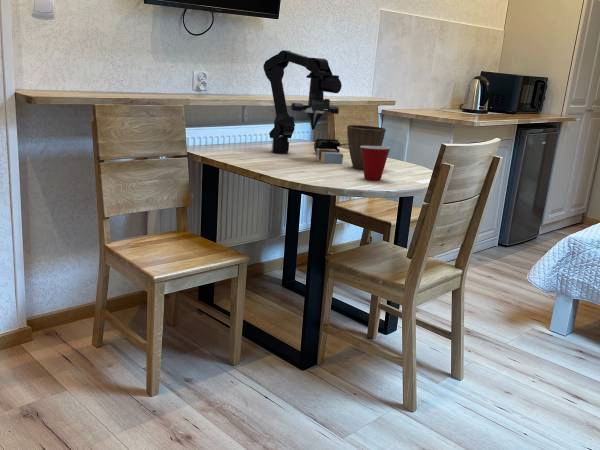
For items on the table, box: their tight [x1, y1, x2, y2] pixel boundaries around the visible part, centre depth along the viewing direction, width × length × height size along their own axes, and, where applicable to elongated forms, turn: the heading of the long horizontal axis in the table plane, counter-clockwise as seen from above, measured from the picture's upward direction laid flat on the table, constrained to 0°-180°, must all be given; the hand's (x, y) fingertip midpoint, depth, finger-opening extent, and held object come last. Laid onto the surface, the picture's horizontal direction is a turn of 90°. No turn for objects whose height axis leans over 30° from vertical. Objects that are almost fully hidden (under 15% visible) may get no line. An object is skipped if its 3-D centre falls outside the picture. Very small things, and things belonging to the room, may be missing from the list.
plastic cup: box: [360, 145, 392, 182], centre depth 209 cm, size 11×11×12 cm
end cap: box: [313, 138, 341, 154], centre depth 259 cm, size 10×7×7 cm
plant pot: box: [346, 124, 387, 171], centre depth 230 cm, size 15×15×16 cm
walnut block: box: [315, 148, 337, 161], centre depth 248 cm, size 4×4×8 cm
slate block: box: [320, 152, 344, 165], centre depth 239 cm, size 4×4×8 cm
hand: (312, 129), depth 241 cm, fingers closed
